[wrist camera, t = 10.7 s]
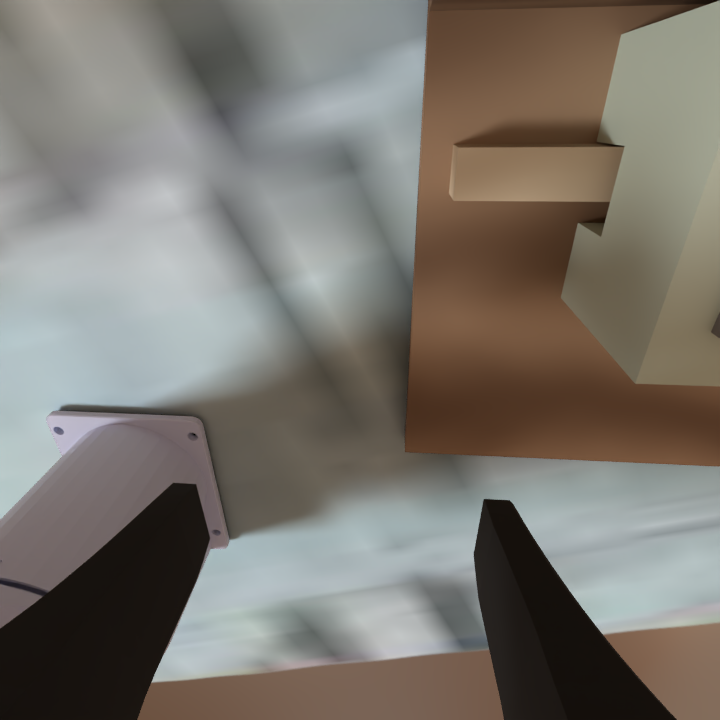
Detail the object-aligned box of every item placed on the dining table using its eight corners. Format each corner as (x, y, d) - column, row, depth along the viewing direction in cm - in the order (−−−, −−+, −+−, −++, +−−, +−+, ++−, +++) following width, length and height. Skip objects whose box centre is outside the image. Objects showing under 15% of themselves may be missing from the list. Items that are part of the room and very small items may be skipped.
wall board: (749, 453, 20) (897, 597, 14) (404, 438, 22) (406, 566, 16) (1040, -69, 12) (1740, -265, 6) (431, -48, 13) (459, -192, 7)
